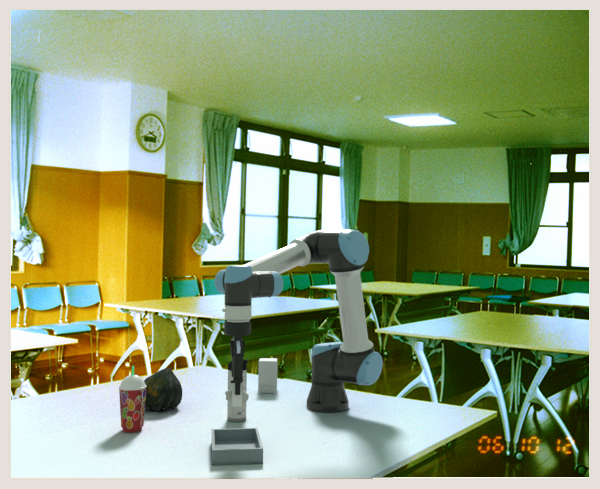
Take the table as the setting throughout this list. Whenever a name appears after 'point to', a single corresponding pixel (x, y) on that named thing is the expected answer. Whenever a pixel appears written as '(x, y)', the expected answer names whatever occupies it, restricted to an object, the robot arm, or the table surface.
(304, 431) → the table surface
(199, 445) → the table surface
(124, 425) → the smoothie
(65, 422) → the table surface
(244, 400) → the white animal figurine
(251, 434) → the bin
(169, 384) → the squash
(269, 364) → the supplement box
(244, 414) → the travel mug
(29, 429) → the table surface
